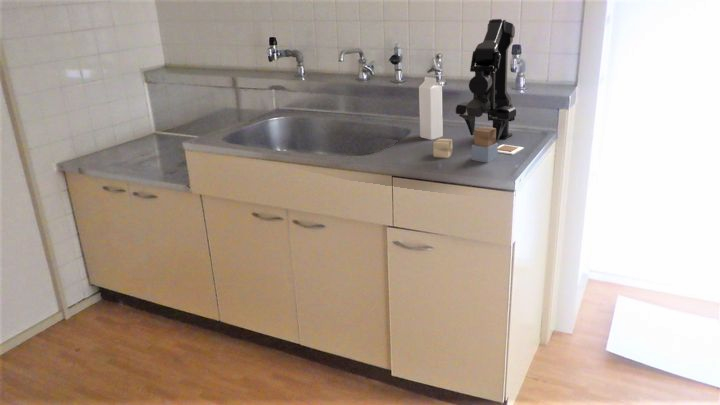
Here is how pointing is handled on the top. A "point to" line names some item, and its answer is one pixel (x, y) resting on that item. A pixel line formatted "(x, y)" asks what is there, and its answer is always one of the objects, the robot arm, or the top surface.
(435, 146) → the maple block
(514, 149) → the swatch
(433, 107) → the milk
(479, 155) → the base block
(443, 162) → the top surface
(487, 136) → the walnut block
